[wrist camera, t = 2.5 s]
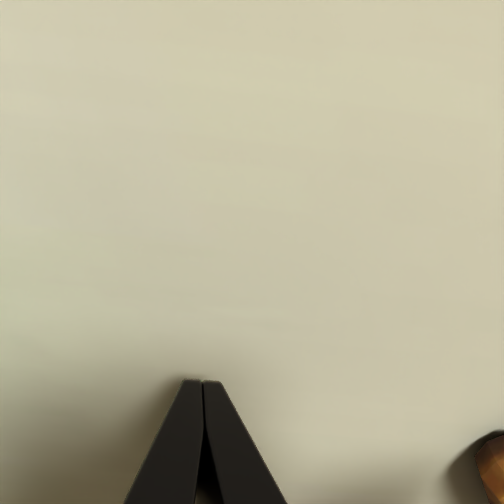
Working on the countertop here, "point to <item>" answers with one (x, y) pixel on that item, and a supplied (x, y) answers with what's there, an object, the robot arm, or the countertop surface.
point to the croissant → (492, 469)
